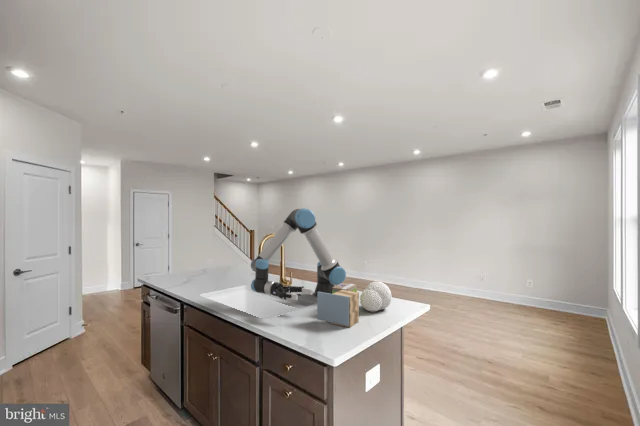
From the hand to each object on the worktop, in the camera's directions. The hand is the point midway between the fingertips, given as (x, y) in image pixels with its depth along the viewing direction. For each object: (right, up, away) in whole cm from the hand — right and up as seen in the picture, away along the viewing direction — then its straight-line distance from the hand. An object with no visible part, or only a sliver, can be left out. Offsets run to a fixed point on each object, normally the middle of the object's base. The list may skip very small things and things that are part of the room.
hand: (304, 294), depth 160 cm
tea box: (+22, -13, +12) cm, 28 cm away
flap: (+14, -11, -9) cm, 20 cm away
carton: (+21, -13, -6) cm, 25 cm away
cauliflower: (+41, -13, +15) cm, 46 cm away
